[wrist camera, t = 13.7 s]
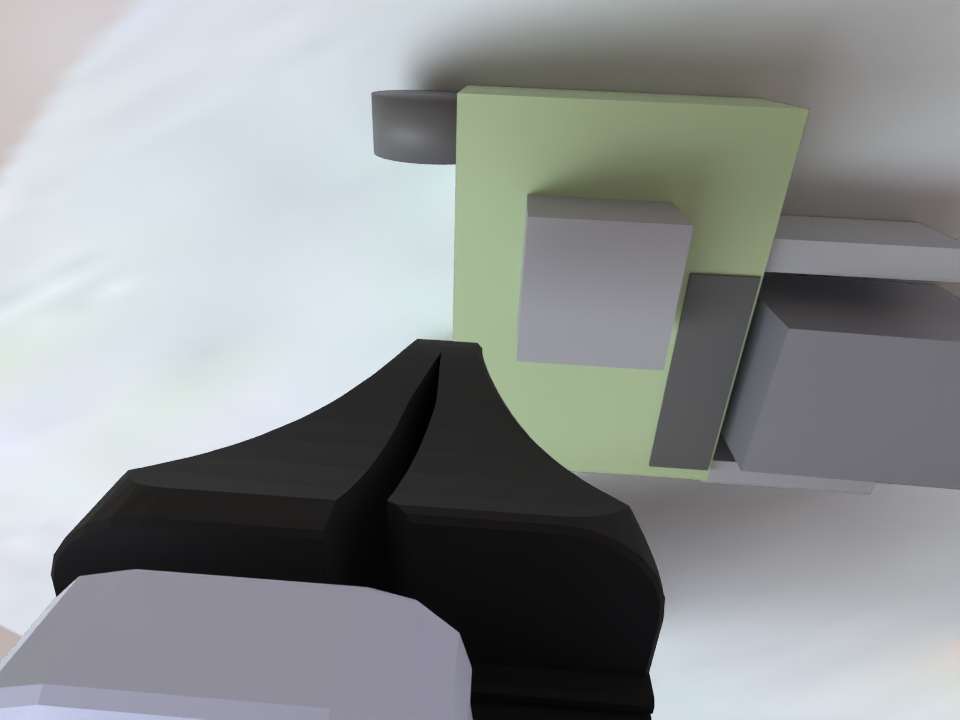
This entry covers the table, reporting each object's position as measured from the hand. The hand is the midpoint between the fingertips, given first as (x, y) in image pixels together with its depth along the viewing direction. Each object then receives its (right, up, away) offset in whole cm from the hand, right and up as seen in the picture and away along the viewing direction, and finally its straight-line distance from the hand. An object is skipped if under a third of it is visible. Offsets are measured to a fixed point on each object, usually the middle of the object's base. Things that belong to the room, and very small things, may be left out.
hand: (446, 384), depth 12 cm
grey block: (+13, +1, +10) cm, 16 cm away
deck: (+6, +3, +9) cm, 11 cm away
